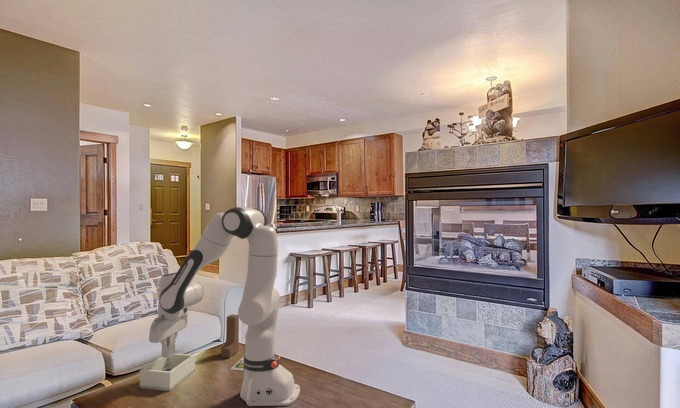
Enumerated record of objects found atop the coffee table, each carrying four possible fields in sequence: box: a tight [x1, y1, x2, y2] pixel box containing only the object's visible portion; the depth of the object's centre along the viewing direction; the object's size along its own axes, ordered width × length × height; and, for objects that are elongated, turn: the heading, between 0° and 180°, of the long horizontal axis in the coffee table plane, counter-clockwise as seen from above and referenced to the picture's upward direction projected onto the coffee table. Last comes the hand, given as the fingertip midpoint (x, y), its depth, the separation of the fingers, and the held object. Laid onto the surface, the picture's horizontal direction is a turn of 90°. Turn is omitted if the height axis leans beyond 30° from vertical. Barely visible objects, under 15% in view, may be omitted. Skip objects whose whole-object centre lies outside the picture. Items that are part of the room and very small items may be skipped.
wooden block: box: [220, 313, 240, 359], centre depth 170 cm, size 9×4×18 cm, turn 168°
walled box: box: [139, 353, 196, 392], centre depth 144 cm, size 13×17×7 cm
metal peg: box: [161, 334, 176, 358], centre depth 144 cm, size 4×4×9 cm
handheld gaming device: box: [230, 356, 244, 372], centre depth 160 cm, size 9×1×15 cm
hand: (168, 345), depth 144 cm, fingers closed on metal peg, 3 cm apart
